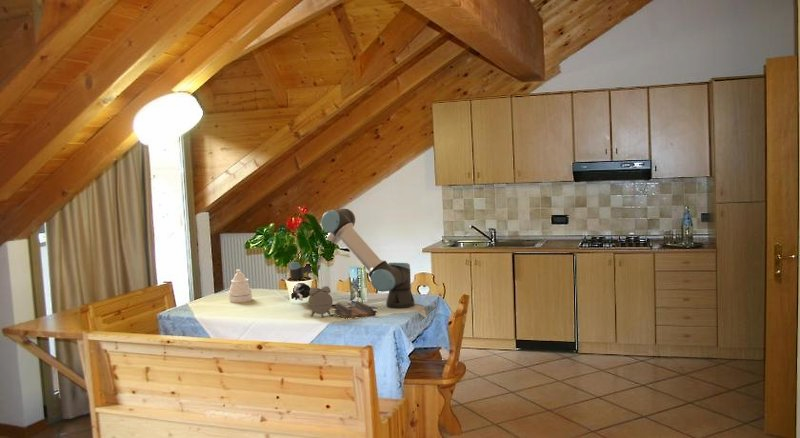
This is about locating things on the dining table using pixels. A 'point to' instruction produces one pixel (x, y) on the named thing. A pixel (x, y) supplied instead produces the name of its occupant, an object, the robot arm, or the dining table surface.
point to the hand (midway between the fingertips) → (314, 296)
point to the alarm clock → (320, 300)
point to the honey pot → (240, 288)
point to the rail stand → (354, 310)
